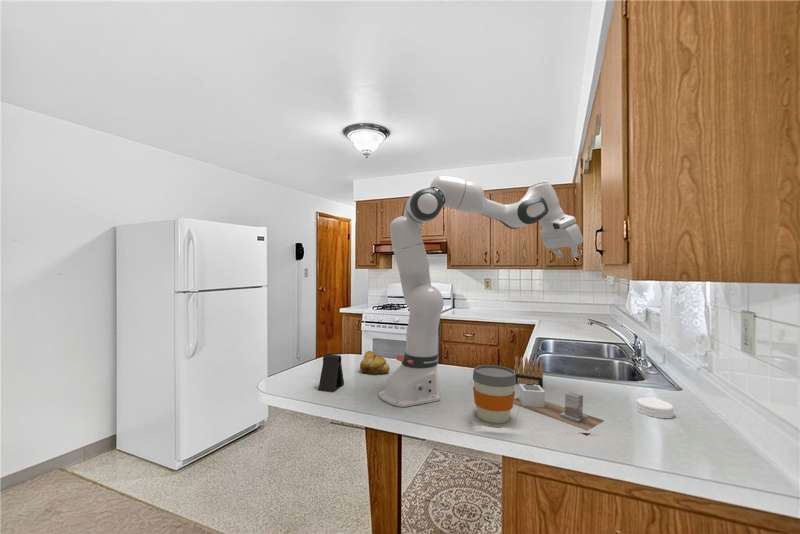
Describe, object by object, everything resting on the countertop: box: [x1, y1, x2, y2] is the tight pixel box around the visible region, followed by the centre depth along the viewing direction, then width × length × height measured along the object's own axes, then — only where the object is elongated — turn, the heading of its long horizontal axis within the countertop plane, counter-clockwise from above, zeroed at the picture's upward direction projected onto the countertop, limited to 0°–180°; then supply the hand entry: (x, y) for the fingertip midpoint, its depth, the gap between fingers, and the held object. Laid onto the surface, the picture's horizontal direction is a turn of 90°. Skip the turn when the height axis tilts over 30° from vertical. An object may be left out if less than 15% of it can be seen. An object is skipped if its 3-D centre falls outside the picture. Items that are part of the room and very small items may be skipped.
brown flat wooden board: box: [513, 391, 605, 437], centre depth 115 cm, size 11×26×8 cm, turn 39°
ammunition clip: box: [513, 355, 544, 389], centre depth 139 cm, size 11×2×12 cm, turn 67°
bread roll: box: [359, 350, 390, 375], centre depth 155 cm, size 13×10×8 cm
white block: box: [518, 383, 546, 408], centre depth 121 cm, size 7×7×6 cm
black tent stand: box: [317, 353, 345, 393], centre depth 135 cm, size 9×6×12 cm, turn 164°
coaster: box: [635, 396, 675, 419], centre depth 119 cm, size 10×10×4 cm
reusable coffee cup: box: [472, 364, 517, 429], centre depth 109 cm, size 13×13×15 cm
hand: (568, 257), depth 139 cm, fingers open, 8 cm apart
